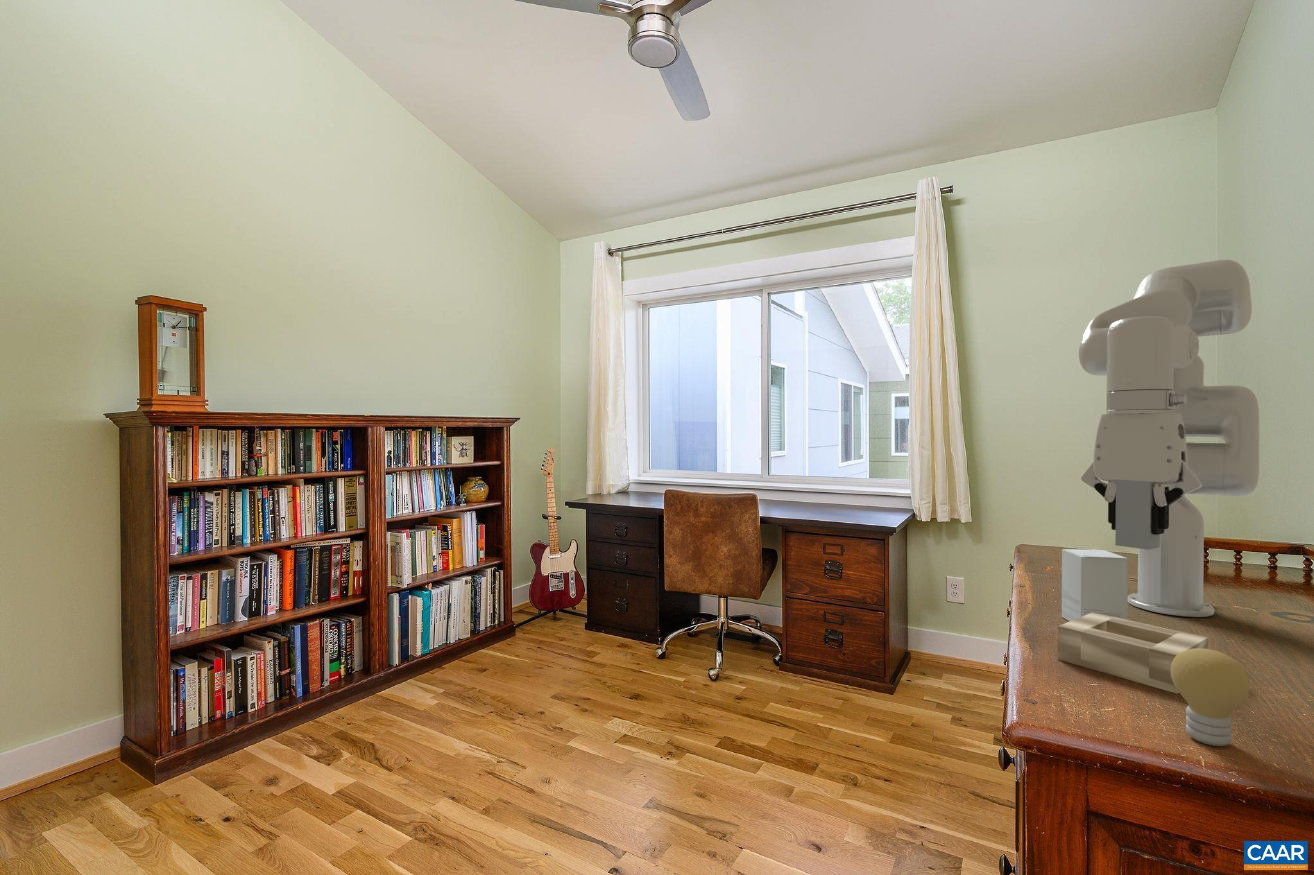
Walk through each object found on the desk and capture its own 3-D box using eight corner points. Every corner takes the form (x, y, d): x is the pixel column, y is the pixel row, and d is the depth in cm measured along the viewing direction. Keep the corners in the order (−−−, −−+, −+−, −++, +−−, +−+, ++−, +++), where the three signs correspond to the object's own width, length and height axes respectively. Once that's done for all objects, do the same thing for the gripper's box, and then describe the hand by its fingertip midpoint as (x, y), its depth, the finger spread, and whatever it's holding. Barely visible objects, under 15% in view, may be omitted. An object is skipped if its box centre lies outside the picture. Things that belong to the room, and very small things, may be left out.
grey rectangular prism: (1125, 542, 90) (1126, 475, 89) (1159, 547, 86) (1160, 477, 86) (1115, 545, 87) (1116, 476, 87) (1149, 549, 84) (1150, 478, 84)
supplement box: (1129, 632, 101) (1129, 558, 101) (1079, 630, 103) (1080, 556, 103) (1105, 619, 109) (1106, 549, 108) (1060, 616, 110) (1060, 547, 110)
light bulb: (1155, 727, 69) (1155, 641, 69) (1206, 725, 70) (1207, 639, 70) (1210, 757, 63) (1211, 662, 63) (1266, 754, 63) (1267, 660, 63)
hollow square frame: (1092, 643, 96) (1092, 612, 96) (1207, 672, 85) (1208, 637, 85) (1057, 659, 90) (1057, 626, 90) (1177, 693, 78) (1177, 655, 78)
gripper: (1224, 403, 82) (1222, 537, 82) (1083, 407, 96) (1082, 522, 96) (1207, 401, 78) (1205, 543, 78) (1062, 405, 91) (1061, 526, 92)
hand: (1137, 530), depth 87 cm, fingers closed on grey rectangular prism, 4 cm apart
